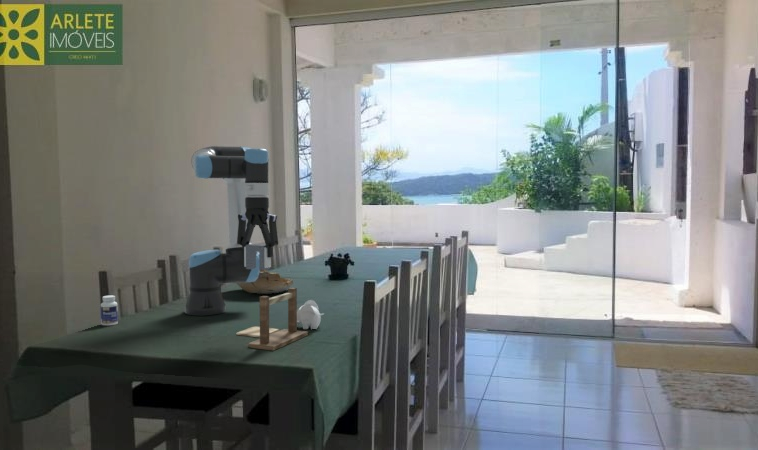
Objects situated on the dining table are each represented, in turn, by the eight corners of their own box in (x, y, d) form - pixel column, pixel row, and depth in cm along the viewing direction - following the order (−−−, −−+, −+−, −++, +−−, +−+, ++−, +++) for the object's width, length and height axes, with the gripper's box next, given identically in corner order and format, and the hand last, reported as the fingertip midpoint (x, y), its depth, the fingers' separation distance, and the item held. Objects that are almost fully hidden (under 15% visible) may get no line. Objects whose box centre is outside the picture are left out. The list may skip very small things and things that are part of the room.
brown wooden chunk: (307, 286, 278) (303, 255, 275) (267, 307, 256) (262, 273, 253) (259, 282, 294) (255, 253, 291) (218, 301, 272) (212, 269, 269)
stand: (273, 350, 178) (273, 299, 177) (248, 347, 182) (247, 296, 181) (307, 335, 197) (307, 288, 196) (284, 332, 200) (283, 286, 199)
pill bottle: (101, 326, 207) (100, 298, 206) (100, 323, 212) (99, 295, 211) (118, 324, 210) (117, 297, 209) (117, 321, 214) (116, 294, 214)
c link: (246, 269, 198) (245, 244, 197) (251, 268, 201) (251, 244, 200) (264, 270, 195) (263, 245, 195) (269, 269, 198) (269, 244, 197)
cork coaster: (236, 334, 197) (236, 332, 197) (254, 328, 206) (254, 326, 206) (262, 337, 193) (262, 336, 193) (279, 330, 202) (279, 329, 202)
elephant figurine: (291, 324, 212) (291, 299, 212) (326, 324, 212) (326, 299, 211) (287, 330, 203) (286, 304, 202) (322, 331, 202) (322, 305, 202)
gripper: (224, 196, 197) (225, 266, 198) (276, 196, 189) (277, 269, 191) (238, 196, 204) (239, 263, 205) (289, 196, 196) (290, 267, 197)
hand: (257, 266), depth 198 cm, fingers closed on c link, 7 cm apart
